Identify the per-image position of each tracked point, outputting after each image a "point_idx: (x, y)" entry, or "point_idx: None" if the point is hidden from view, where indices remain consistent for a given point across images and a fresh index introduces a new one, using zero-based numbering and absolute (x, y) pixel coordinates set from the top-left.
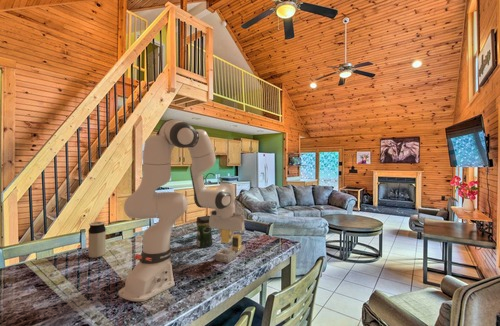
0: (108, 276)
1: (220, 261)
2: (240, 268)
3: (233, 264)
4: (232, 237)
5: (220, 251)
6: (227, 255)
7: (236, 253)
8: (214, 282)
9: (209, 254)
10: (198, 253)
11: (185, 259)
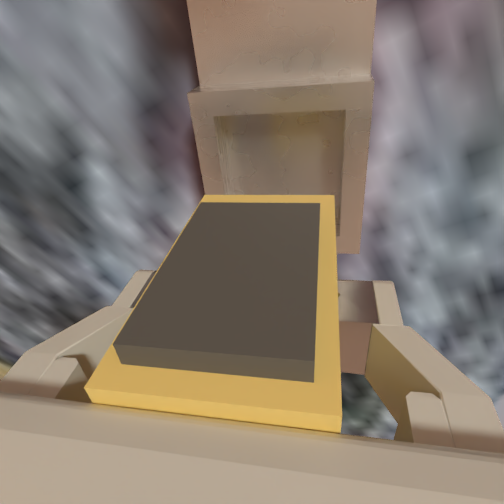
0: None
1: None
2: (498, 267)
3: (411, 224)
4: (391, 291)
5: (220, 188)
6: (346, 252)
7: (374, 25)
8: (384, 422)
9: (91, 122)
10: (6, 146)
11: (49, 270)
